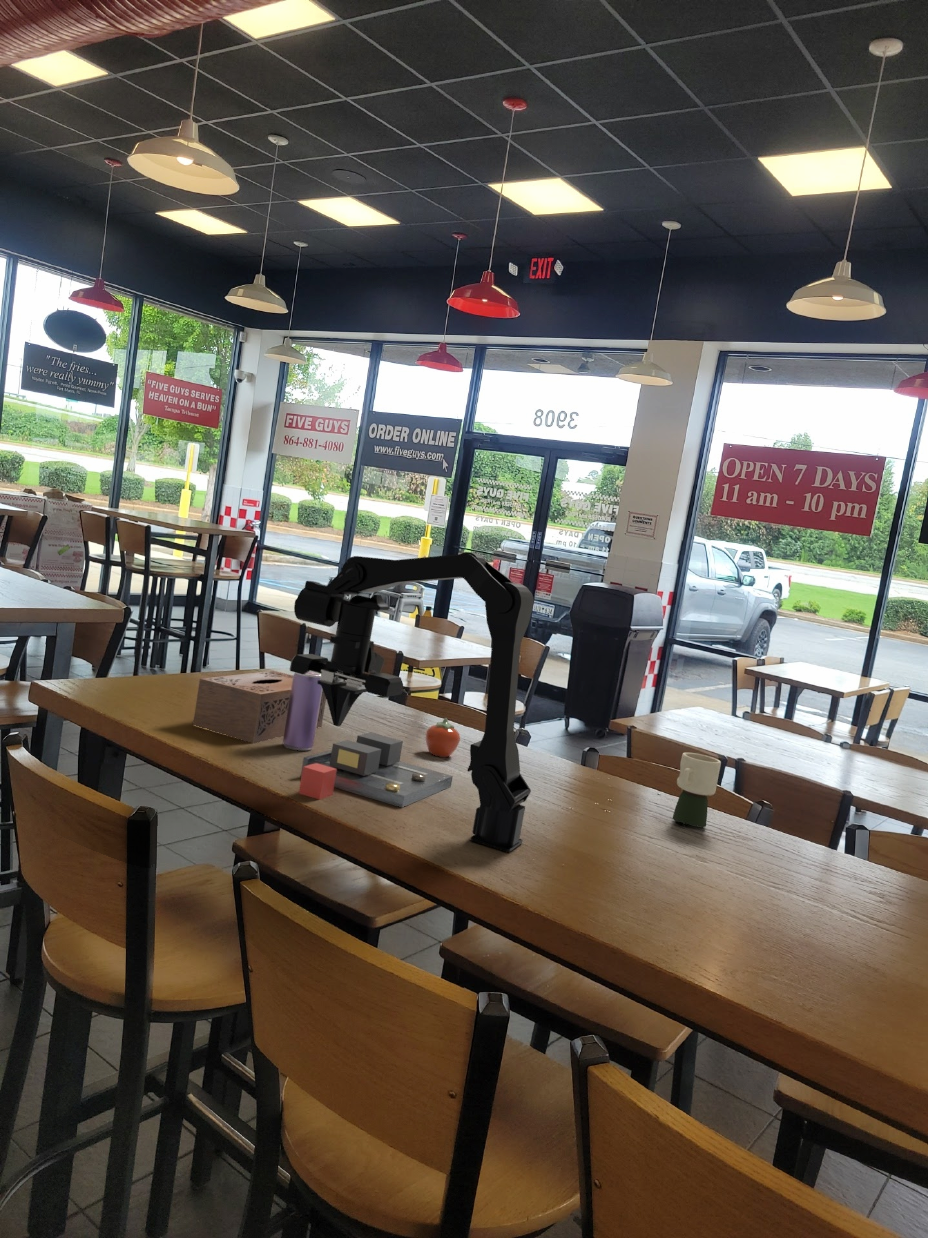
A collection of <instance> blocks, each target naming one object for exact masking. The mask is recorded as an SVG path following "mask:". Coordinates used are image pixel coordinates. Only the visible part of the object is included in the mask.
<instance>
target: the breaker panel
mask: <svg viewBox="0 0 928 1238" xmlns="http://www.w3.org/2000/svg"><path fill="white" fill-rule="evenodd" d="M331 753H332V749H331V750H327V751H323V752H319V753H316V754H311V755H308V756H304V757H303V760H302V765H301V773H300V778H301V777H302V770H303V767H304V766H307V765H311V764H315V763H318V764H321V765H325V766H328V767H332V766H329V765H330V759H331ZM332 768H335V767H332ZM335 769H337V771H336V777H335V783H334V788H336V789H338V790H343V791H346V792H349V793H353V794H355V795H359V796H361V797H362V796H363V797H365V798H369V799H371V800H376V801H377V802H383V803H385V804H389V805H392V806H395V807H398V806H399V808H404V806H405V807H406V806H409V805H411V804H414V803H416V802H419V801H421V800H424V799H425V798H427V797H430V796H433V795H434V794H437V793H439V792H442V791H444V790H446V789H448V788H451V787H452V782H453V777H454V776H453V775H451V774H446V773H444V772H440V771H436V770H432V769H429V768H425V767H421V766H419V765H416V764H411V763H408V762H403V761H399V762H397V763H394V764H391V765H388V766H386V765H382V764H379V767H378V771H377V772H374V773H371V774H368V775H365V776H363V775H359V774H356V773H352V772H349V771H346V770H342V769H339V768H335ZM441 790H442V791H441Z"/></svg>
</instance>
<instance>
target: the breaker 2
mask: <svg viewBox="0 0 928 1238" xmlns="http://www.w3.org/2000/svg"><path fill="white" fill-rule="evenodd" d="M356 742H357V743H360V744H364V745H368V746H371V747H375V748H379V749H381V755H380V761H379V764H382V765H386V766H388V765H391V764H394V763H397V762H399V761H400V760H401V756H402V755H401V754H402V751H403V748H402V747H403V743H404V740H400V739H396V738H393V737H390V736H386V735H382V734H379V733H378V734H377V733H374V732H367V733H362V734H358V735H357V737H356Z"/></svg>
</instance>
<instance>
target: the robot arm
mask: <svg viewBox="0 0 928 1238" xmlns="http://www.w3.org/2000/svg"><path fill="white" fill-rule="evenodd" d="M455 579H457V580H458V579H463V580H464V581H466V582H467V584H468V585H469V587H470V588H471V590H472V591H474V593H475V594H476V595H477V597H479V598H480V599H481V600H482V601H483V602H484V604H485V615H486V624H487V627H488V631H489V634H490V639H491V651H490V663H489V677H488V689H487V698H486V699H487V700H486V711H485V724H484V725H485V726H484V733H483V736H482V739H481V740H479V741H476V742H474V743H471V744H470V747H469V754H470V762H469V766H468V767H467V772H468V773H469V772H471V774H470V775H471V782H472V784H473V785H474V787H476V789H477V792H478V798H479V803H480V805H479V806H478V807H477V808H476V809H475V815H474V821H473V827H472V835H471V836H470V841H471V842H472V843H473V842H474V843H478V844H481V845H484V846H487V847H490V848H493V849H496V850H500V851H502V852H506V853H507V852H508V853H510V852H512V851H513V850H514V849H515V848H517V847H519V846H520V845H521V844H523V839H522V838H520V837H521V833H522V827H523V823H524V822H523V821H524V815H525V811H526V806H524V805H522V803H525V802H526V801H527V799H528V797H529V796H530V794H531V793H532V790H531V788H530V786H529V785H528V784H527V781H525V779H524V777H523V776H522V774H521V767H520V766H521V765H520V754H519V749H518V744H517V741H516V737H515V732H514V731H515V720H516V718H515V717H516V706H517V695H518V682H519V681H518V680H519V672H520V671H519V670H520V657H521V644H522V641H523V639H524V636H525V633H526V631H527V629H528V627H529V625H530V620H531V617H532V612H533V609H534V604H535V603H534V602H535V601H534V596H533V593H532V592H531V591H530V590H529V588H528V587H527V586H525V585H524V584H521V583H517V582H516V583H515V582H513V581H512V580H511V579H510V578H509V577H508V576H506V575H505V574H504V573H502V572H501V571H499V570H498V569H497V568H496V567H494V566H493V565H492V564H490V563H489V562H488V560H486V559H485V558H484V556H483V555H482V554H479V553H477V552H471V551H470V552H469V551H464V552H461V553H459V554H458V553H457V554H446V555H438V556H437V555H436V556H434V555H433V556H425V557H423V556H422V557H415V558H414V557H412V558H406V559H405V558H403V559H387V558H378V557H369V556H359V555H355V556H354V555H353V556H351V557H348V558H347V559H346V561H344V563H343V565H342V568H341V571H340V572H339V573H338V574H337V575H336V576H335V577H334V578H333V579H332V580H331V581H330V582H329V583H327V585H326V584H322V583H320V582H318V581H313V580H306V581H305V584H304V587H303V588H302V589H301V591H300V592H299V593H298V595H297V598H296V599H295V600H294V606H293V607H294V609H293V610H294V611H293V612H294V615H295V618H296V619H297V620H299V621H303V622H307V623H311V624H315V625H319V626H324V627H329V628H331V627H333V626H334V625H335V624H336V623H337V625H336V630H335V635H331V636H330V640H329V643H332V644H333V647H332V652H331V659H330V660H329V659H328V657H325V656H320V655H317V654H313V653H304V654H295V655H294V656H293V658H292V659H291V661H290V665H289V666H290V667H289V671H290V672H293V673H295V672H296V673H299V674H303V675H304V674H306V673H308V672H309V671H314V672H318V673H321V679H320V680H318V681H317V684H320V685H321V686H322V689H323V692H324V694H325V697H326V702H327V706H328V709H329V713H330V717H331V720H332V724H333V726H336V727H341V726H342V724H343V723H344V721H345V719H346V717H347V715H348V713H349V712H350V710H351V708H352V707H353V705H354V704H355V702H356V701H357V699H358V698H359V697H360V696H361V695H362V694H363V693H368V694H372V695H376V696H380V697H394V696H400V695H402V693H403V688H404V683H403V680H402V678H401V676H397V675H393V674H391V673H390V674H389V673H385V672H382V669H383V666H384V664H385V661H386V659H385V658H384V657H383V656H382V655H380V654H379V653H377V652H375V651H374V648H375V644H374V643H375V641H372V640H371V639H372V632H373V627H374V621H375V616H376V611H381V612H382V611H384V612H385V611H389V609H390V607H389V605H388V604H387V603H386V602H385V601H384V599H383V597H382V596H383V595H381V594H373V593H377V592H381V591H384V590H388V589H392V588H395V587H397V586H399V585H402V584H407V583H408V584H409V583H419V582H420V583H421V582H434V581H445V580H455ZM363 593H372V594H373V595H372V596H371V597H368V596H364V595H361V594H363ZM345 595H346V596H350V595H351V596H353V597H352V598H347V597H345Z"/></svg>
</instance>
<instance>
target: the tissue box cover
mask: <svg viewBox="0 0 928 1238" xmlns="http://www.w3.org/2000/svg"><path fill="white" fill-rule="evenodd" d="M293 675H294V674H293ZM293 675H292V674H289V673H284V672H280V671H277V670H276V671H275V670H268V671H267V670H266V671H258V672H250V673H249V672H248V673H242V674H241V673H239V674H238V673H237V674H231V675H222V676H213V677H203V678H199V681H198V682H199V683H198V687H197V688H198V689H197V695H196V700H195V701H196V702H195V708H194V715H193V722H192V726H193V725H196V726H199V727H202V728H207V729H209V730H212V731H215V732H219V733H222V734H226V735H228V736H232V737H236V738H238V739H237V740H239V739H242V740H244V741H243V742H246V741H248V742H247V743H249V742H251V743H250V744H253V743H254V744H256V743H257V742H258V743H261V742H260V741H262V742H266V741H269V740H268V739H271V740H274V739H273V738H275V737H279V738H282V737H281V736H283V737H284V731H285V725H286V718H287V712H288V706H289V700H290V693H291V687H292V681H293ZM326 702H327V699H326V697H325V694H324V692H323V690H322V696H321V702H320V708H319V714H318V720H317V727H316V728H317V729H319V728H318V727H321V728H322V726H323V720H324V714H325V708H326V707H325V706H326ZM228 736H227V737H228ZM232 737H231V738H232ZM275 739H276V738H275ZM242 740H241V741H242ZM258 743H257V744H258Z"/></svg>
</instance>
